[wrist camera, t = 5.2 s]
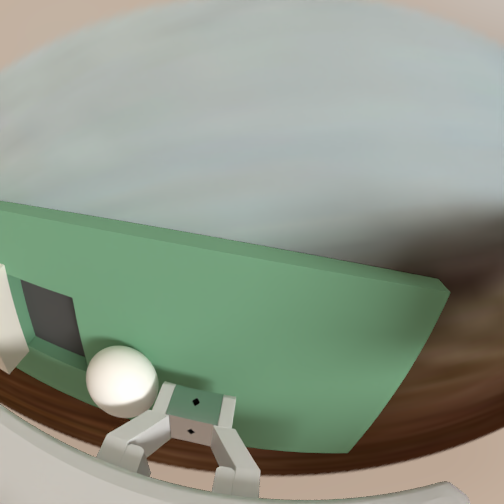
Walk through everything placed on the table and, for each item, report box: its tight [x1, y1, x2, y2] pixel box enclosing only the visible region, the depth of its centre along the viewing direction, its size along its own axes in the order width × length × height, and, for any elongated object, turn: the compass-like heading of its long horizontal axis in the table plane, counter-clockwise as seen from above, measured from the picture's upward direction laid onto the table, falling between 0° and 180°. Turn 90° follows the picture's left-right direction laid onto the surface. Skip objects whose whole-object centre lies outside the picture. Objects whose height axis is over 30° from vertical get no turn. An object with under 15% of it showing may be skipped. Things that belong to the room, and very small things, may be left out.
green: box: [0, 201, 451, 453], centre depth 12 cm, size 24×12×4 cm, turn 81°
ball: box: [86, 346, 158, 418], centre depth 11 cm, size 3×3×3 cm
